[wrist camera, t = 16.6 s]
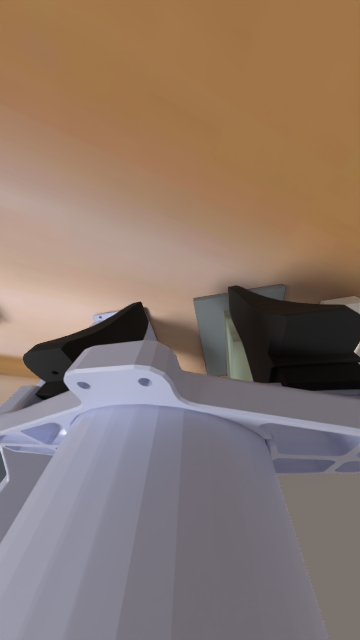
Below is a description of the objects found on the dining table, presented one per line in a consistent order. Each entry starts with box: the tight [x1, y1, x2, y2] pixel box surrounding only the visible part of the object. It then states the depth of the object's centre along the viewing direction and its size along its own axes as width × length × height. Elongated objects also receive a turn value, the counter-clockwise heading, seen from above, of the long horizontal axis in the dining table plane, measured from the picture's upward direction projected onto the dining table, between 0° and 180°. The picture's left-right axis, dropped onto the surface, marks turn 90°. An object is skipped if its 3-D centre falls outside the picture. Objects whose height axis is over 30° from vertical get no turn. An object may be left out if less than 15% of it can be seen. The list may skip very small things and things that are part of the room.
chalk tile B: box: [320, 296, 360, 314], centre depth 21 cm, size 4×4×2 cm
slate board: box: [194, 284, 286, 376], centre depth 25 cm, size 12×18×1 cm, turn 12°
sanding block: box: [223, 308, 253, 382], centre depth 22 cm, size 4×14×7 cm, turn 12°
